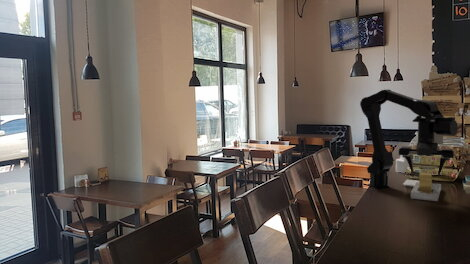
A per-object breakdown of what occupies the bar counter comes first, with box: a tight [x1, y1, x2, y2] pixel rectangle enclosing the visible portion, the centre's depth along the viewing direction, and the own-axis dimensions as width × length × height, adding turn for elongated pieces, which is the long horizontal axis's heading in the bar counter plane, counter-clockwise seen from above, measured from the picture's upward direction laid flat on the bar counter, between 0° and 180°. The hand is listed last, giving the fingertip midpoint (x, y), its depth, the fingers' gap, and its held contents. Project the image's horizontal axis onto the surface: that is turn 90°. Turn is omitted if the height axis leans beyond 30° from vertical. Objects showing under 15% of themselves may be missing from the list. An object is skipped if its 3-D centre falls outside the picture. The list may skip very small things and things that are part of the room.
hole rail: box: [410, 182, 442, 202], centre depth 147 cm, size 18×9×2 cm, turn 147°
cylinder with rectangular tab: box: [395, 146, 408, 174], centre depth 188 cm, size 9×9×12 cm
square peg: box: [418, 171, 433, 192], centre depth 143 cm, size 4×4×9 cm
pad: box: [402, 179, 419, 187], centre depth 162 cm, size 10×10×1 cm
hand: (425, 173), depth 143 cm, fingers open, 9 cm apart
